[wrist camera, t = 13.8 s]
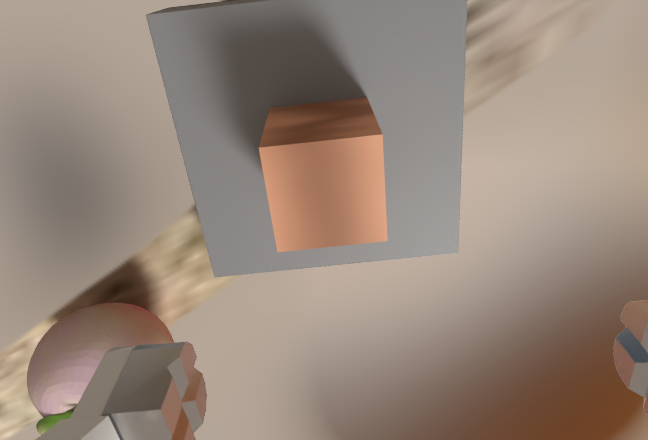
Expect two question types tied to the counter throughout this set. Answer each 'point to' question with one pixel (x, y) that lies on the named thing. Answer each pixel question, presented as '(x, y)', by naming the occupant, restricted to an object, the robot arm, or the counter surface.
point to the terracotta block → (324, 174)
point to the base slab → (313, 87)
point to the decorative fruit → (84, 354)
